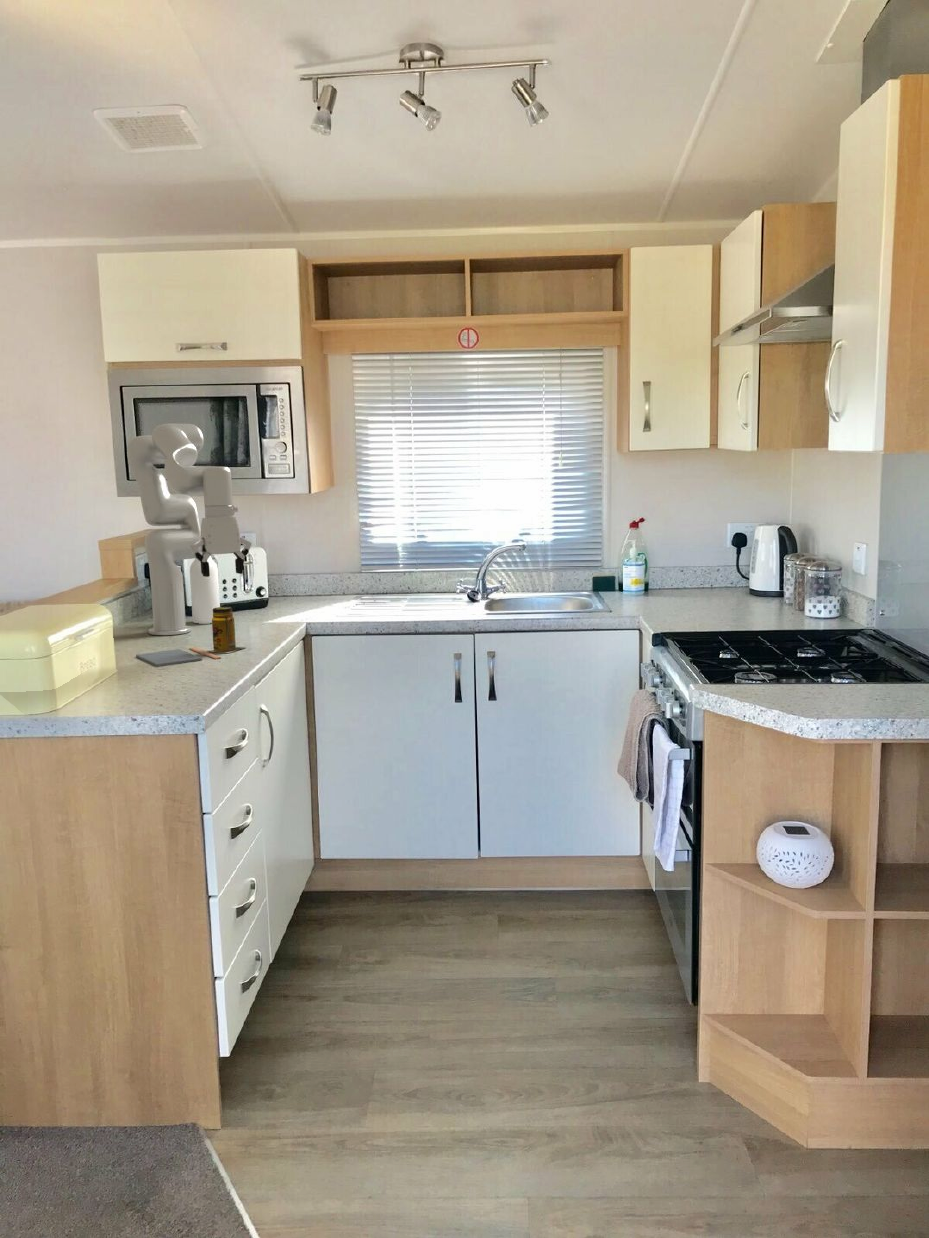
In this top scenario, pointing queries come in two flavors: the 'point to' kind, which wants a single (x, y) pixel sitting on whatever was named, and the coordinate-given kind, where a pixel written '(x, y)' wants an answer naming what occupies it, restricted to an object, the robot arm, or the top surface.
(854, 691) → the top surface
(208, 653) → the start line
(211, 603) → the alcohol
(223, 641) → the condiment
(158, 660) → the mat
